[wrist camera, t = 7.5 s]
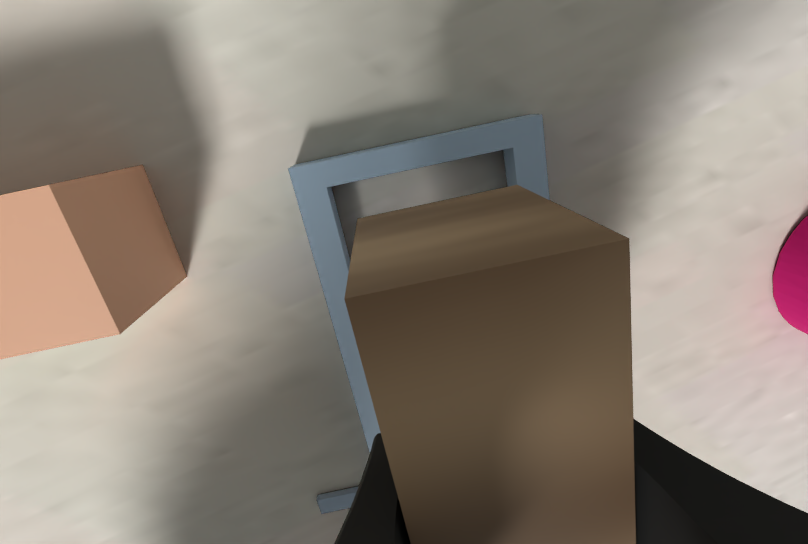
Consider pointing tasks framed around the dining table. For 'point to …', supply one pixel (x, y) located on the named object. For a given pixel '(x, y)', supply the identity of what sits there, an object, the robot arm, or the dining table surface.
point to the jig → (317, 177)
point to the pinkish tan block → (81, 260)
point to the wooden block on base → (499, 368)
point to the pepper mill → (793, 278)
